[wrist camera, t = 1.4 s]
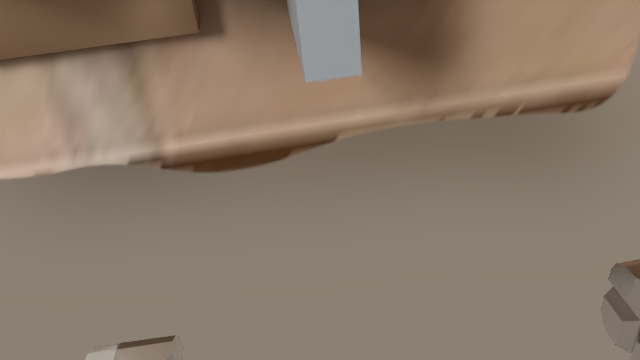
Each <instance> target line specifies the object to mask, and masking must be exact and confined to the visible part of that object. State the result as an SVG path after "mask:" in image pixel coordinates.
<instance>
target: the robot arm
mask: <svg viewBox="0 0 640 360" xmlns="http://www.w3.org/2000/svg"><path fill="white" fill-rule="evenodd" d="M608 279H609V281H610V282H611V283H612V285H613V287H612V288H611V289H610V290H609V291H608V292H607V293H606V294H605V295H604V296H603V301H602V306H601V312H602V317H603V323H604V325H605V328H606V330H607V332H608V334H609V336H610V337H611V339H612V340H613V342H614V343H615V345H617V346H619V347H620V348H622V349H624V350H626V351H628V352H629V353H631V354H630V360H640V260H634V261H628V262H622V263H616V264H615V265H614V266H613V267H612V268H611V271H610V274H609V277H608ZM182 359H183V346H182V343H181V341H180V338H179V336H168V337H161V338H154V339H147V340H139V341H131V342H124V343H120V344H113V345H105V346H99V347H93V348H92V349H91V350H90V352H89V353H88V355H87V357H86V360H182Z"/></svg>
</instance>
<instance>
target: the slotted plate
mask: <svg viewBox="0 0 640 360" xmlns="http://www.w3.org/2000/svg"><path fill="white" fill-rule="evenodd" d="M287 8H288V13H289V17H290V21H291V26H292V30H293V34H294V38H295V42H296V46H297V50H298V54H299V58H300V62H301V67H302V71H303V75H304V79H305V83H308V82H316V81H323V80H330V79H337V78H344V77H351V76H358V75H362V66H361V47H360V29H359V10H358V0H287Z"/></svg>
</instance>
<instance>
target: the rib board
mask: <svg viewBox="0 0 640 360" xmlns="http://www.w3.org/2000/svg"><path fill="white" fill-rule="evenodd" d="M199 27H200V20H199V15H198V11H197V6H196V2H195V0H0V60H3V59H10V58H17V57H25V56H32V55H39V54H47V53H54V52H61V51H69V50H76V49H83V48H91V47H98V46H105V45H113V44H120V43H127V42H135V41H142V40H149V39H157V38H164V37H171V36H179V35H186V34H193V33H199Z"/></svg>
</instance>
